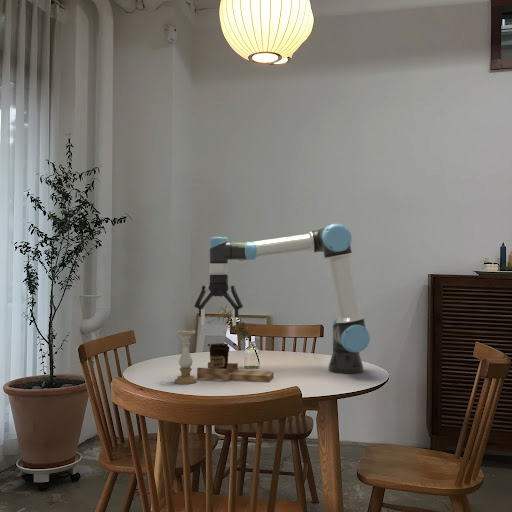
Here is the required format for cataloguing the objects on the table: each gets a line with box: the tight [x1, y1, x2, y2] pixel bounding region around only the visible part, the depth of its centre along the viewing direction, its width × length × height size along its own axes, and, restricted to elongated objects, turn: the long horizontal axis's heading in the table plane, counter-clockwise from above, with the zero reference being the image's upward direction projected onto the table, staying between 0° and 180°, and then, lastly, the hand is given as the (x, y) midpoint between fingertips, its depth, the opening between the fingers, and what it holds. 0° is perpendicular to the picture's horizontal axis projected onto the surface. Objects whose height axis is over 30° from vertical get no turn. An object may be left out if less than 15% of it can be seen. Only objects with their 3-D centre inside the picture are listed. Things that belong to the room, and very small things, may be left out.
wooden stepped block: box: [196, 361, 275, 383], centre depth 237 cm, size 29×15×5 cm, turn 77°
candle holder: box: [174, 329, 198, 385], centre depth 229 cm, size 9×9×20 cm
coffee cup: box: [208, 342, 231, 369], centre depth 239 cm, size 9×8×13 cm
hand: (218, 325), depth 240 cm, fingers open, 13 cm apart
